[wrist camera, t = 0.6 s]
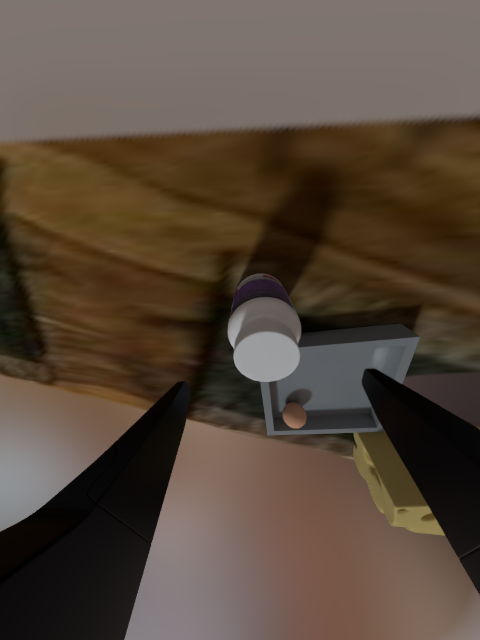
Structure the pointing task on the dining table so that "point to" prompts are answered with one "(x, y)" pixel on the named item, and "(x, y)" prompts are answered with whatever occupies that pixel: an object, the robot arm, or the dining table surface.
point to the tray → (338, 378)
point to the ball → (294, 415)
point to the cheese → (392, 484)
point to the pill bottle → (264, 329)
